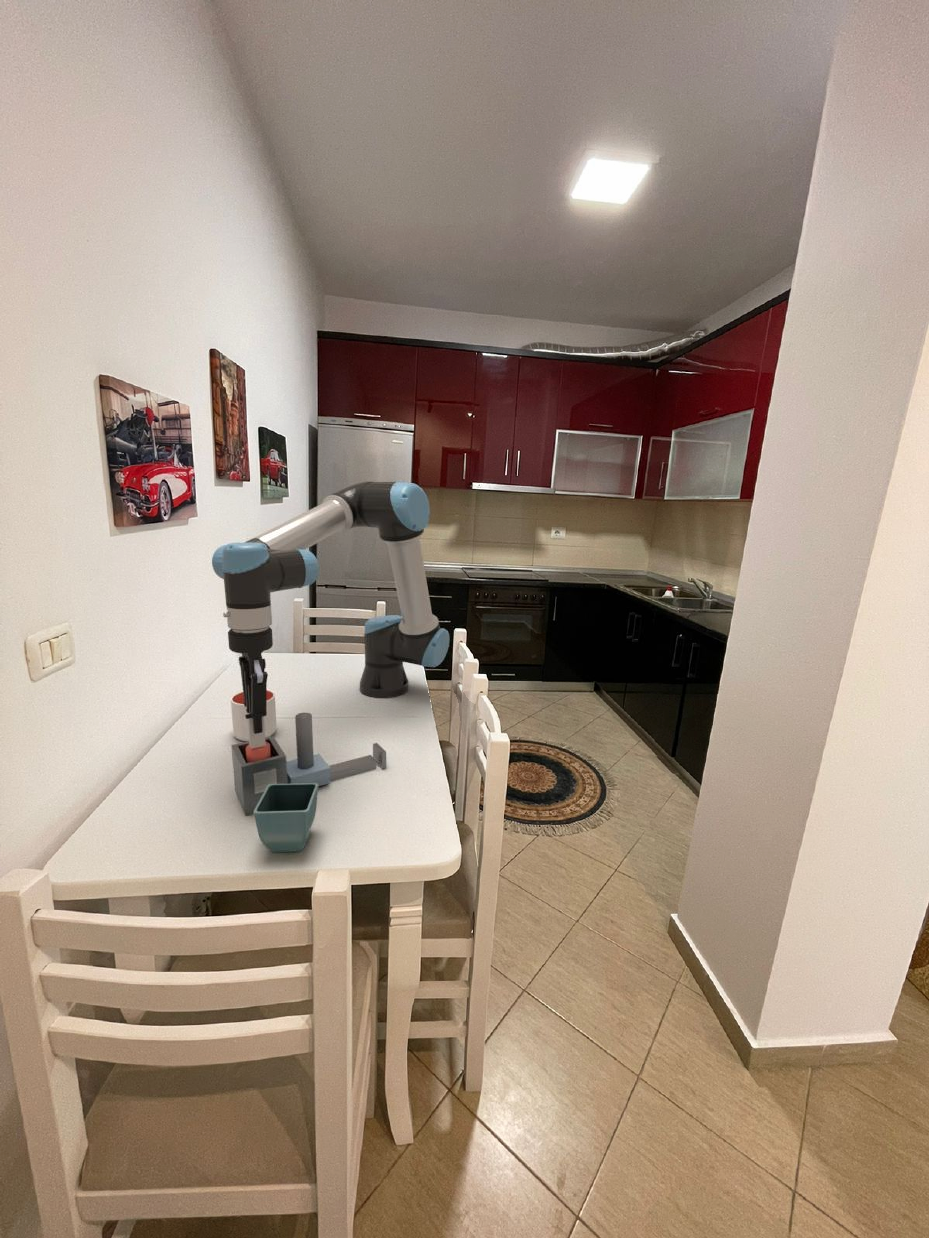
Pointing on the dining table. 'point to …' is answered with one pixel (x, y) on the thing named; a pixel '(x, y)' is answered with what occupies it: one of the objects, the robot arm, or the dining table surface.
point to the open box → (257, 773)
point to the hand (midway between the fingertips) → (257, 745)
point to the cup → (240, 711)
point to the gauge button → (258, 753)
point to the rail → (359, 764)
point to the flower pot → (286, 815)
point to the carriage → (306, 756)
